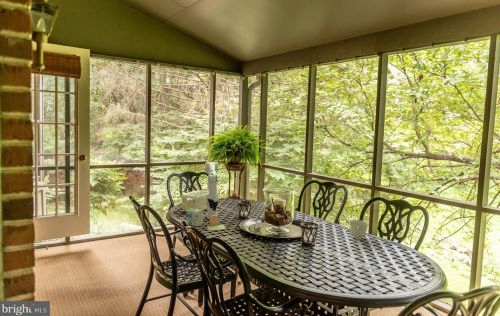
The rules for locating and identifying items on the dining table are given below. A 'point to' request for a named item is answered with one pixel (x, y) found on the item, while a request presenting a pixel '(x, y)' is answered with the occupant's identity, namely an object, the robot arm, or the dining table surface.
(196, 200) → the storage basket
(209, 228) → the mat
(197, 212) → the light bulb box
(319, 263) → the dining table surface
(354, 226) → the teacup
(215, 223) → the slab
